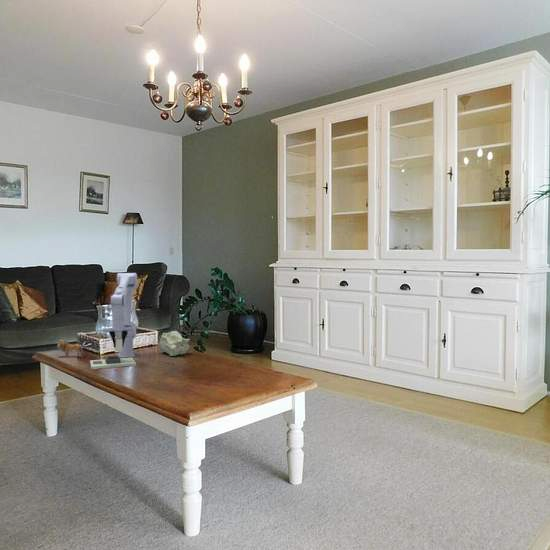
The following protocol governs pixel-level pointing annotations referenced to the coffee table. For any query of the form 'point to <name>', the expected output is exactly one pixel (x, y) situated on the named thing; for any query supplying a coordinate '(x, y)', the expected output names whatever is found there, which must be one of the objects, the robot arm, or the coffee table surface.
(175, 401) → the coffee table surface
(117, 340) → the plug
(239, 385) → the coffee table surface
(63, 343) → the lion figurine
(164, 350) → the folded clay sculpture
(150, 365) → the coffee table surface
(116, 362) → the board
